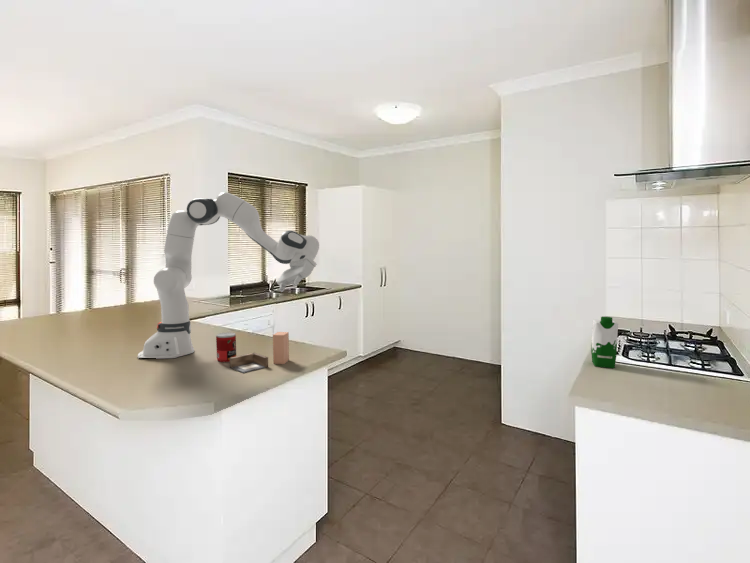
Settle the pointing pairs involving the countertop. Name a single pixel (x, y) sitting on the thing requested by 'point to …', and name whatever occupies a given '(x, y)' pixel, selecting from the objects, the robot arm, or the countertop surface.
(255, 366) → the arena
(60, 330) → the countertop surface
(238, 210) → the robot arm
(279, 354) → the terracotta block
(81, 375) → the countertop surface
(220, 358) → the canned food
